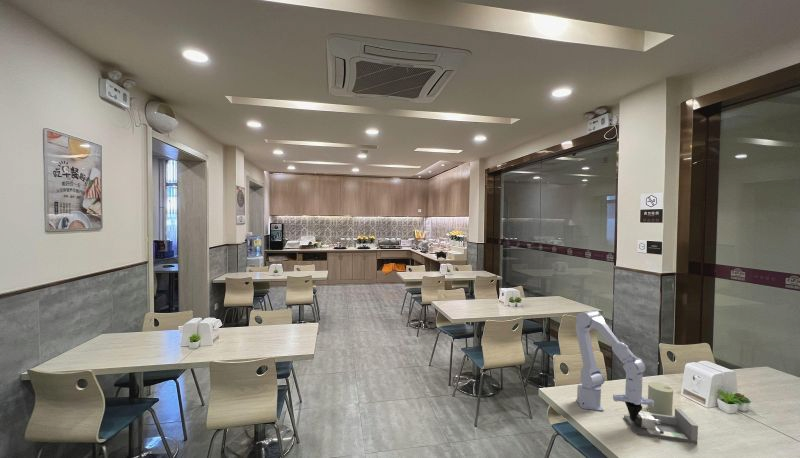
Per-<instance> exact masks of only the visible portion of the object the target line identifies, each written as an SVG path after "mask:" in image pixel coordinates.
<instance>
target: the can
mask: <svg viewBox="0 0 800 458" xmlns="http://www.w3.org/2000/svg"><path fill="white" fill-rule="evenodd" d="M647 385H648V389H647V390H648V391H647V399H651V400H653V401H654V406H651V405H647V406H646V409H647V410H648V412H649V413H653V414H660V415H668V416H674V415H673V402H674V401H673V399H674V389H673V388H672V387H671V386H670V385H667V384H664V383H662V382H656V381H650V382H649V383H647Z"/></svg>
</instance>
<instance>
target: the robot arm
mask: <svg viewBox="0 0 800 458" xmlns="http://www.w3.org/2000/svg"><path fill="white" fill-rule="evenodd" d="M575 318H576V319H575V320H576V322H575V327H574V328H575V333H576V336H577V337H576V338H577V341H578V347H579V353H580V356H581V362H582V365H583V366H582V368H581V369H580V382H581V384H577V387H576V388H577V391H576V392H577V393H576V394H577V395H576V401H577V403H578V405H579V406H580V408H581V409H584V410H585V409H586V410H594V411H601V412H603V411H605V409H604V408H603V406H602V405H601V400H602V398H601V397H602V385H603V384H605V379H606V378H605V376H604V374H603V373H602V370H601V368H600V367H599V366H598V365H597V362H596V357H595V353H594V349H593V343H592V340H591V336H590V330H591V329H593V330H596V331H598V332H599V333H600V334H601V335H602V336H603V337H604V338H605V340H607V341H608V343H609V344H610V345H611V350H612V352H613V353H614V354H615V355H616V357H617V358H618V359H619V360H620V361H621V363H622V364H623V365H622V367H623V370H624V373H625V389H624V390H625V392H624V393H625V394H612V400H613V401H614V402H622V403H623V402H624V403H625V405H626V408H627V411H628V416H630V419H631V420H632V421H635V420H636V417H637V415H638V413H639V412H640V411H643V405H647V406H648V405H651V406H654V401H653V400H651V399H648V398H646V397H642V396H643V395H642V394H643V373H644V372H645V371H646V367H647V366H646V364H645V362H644V361H643V359H641V358H640V357H637V356H636V355H635V354H634V353H633V352H632V351H631V350H630V348H629V345H627V344H626V343H624V342H622V341H620V340H619V339H618V338H617V336H616V335H615V334H614V333H613V331H612V329H611V328H610V327H609V325H608V324H607V323H606V321H605V318H604V317H603V316H602V315H601V312H599V311H598V310H594V309H593V310H588V311H582V312H579V313H578V314H577V315H576V316H575Z"/></svg>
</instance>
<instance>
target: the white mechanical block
mask: <svg viewBox="0 0 800 458" xmlns="http://www.w3.org/2000/svg"><path fill="white" fill-rule="evenodd" d="M650 413H651V412H650V411H645V410H644V411H643V410H641V411H640V412H639V413H638V415H637V417H636V420H635V422H636V423H637V424H638V426H641V427H642V428H647V429H654V430H655V431H656V432H657V433H659V434H660V430H659V429H658V428H657V427H656V423H657V424H662V422H661V420H659V419H655V418H654V417H653V416H652V415H651V414H650Z"/></svg>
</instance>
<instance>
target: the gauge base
mask: <svg viewBox="0 0 800 458" xmlns="http://www.w3.org/2000/svg"><path fill="white" fill-rule="evenodd" d="M649 413H650V414H651V415H652V416H653V417H654V418H655V419H659V420H661V422H662V424H657V423H656V426H657V427H660V428H661V429H662V430H663V431H664V434H659V433H657V432H656V431H655V430H654V429H647V428H642V427H641V426H638V424H637V423H636V422H635V421H632V420H631V419H630V415H625V414H624V415H623V418H624V420H625V421H626V423H627V425H628V426H629V427H630V428H631V429H632V431H633V432H634V434H635V435H636V436H642V437H647V438H648V437H650V438H655V439H663V440H669V441H676V442H682V443H689V444H693V445H697V444H698V438H699V437H698V435H699V434H698V433H699V425H698V424H696V423H695V422H694V421H693V420H692V419H691V417H690V416H688V415H687V414H686V413H685V412H684V410H683V409H681V408H674V415H673V416H668V415H660V414H653V413H651V412H649Z"/></svg>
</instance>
